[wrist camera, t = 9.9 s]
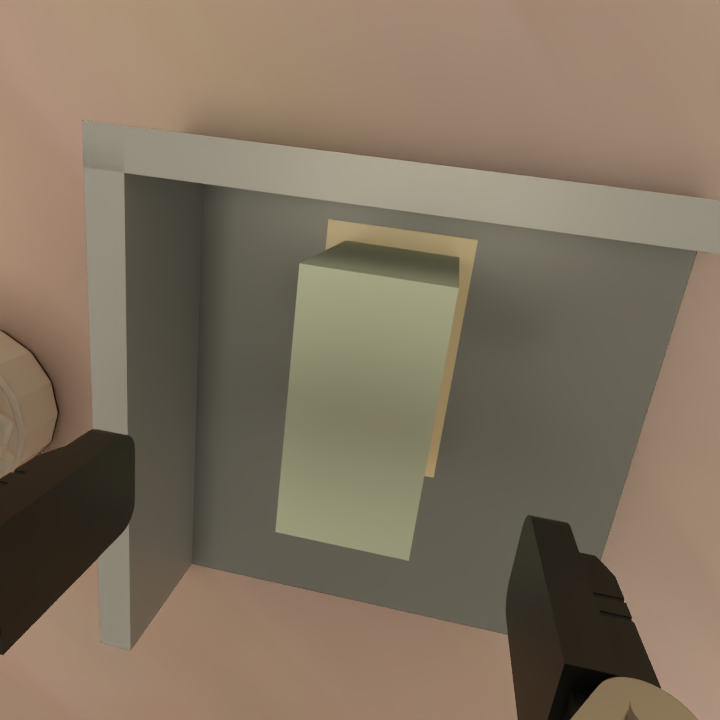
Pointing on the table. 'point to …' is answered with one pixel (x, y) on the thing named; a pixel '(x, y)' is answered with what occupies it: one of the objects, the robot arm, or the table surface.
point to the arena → (274, 346)
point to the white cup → (23, 406)
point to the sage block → (364, 393)
